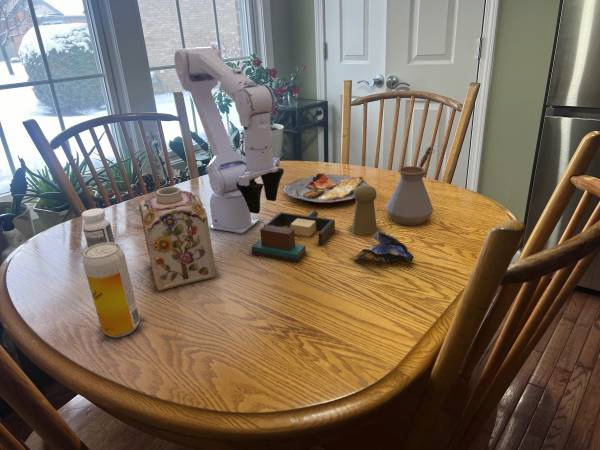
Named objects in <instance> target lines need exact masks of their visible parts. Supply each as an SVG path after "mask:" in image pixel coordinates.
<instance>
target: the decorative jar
mask: <svg viewBox="0 0 600 450" xmlns="http://www.w3.org/2000/svg"><path fill="white" fill-rule="evenodd" d="M155 193H156V194H154V195H151V196H150V197H147V198H145V199H144V200H142V201H141V202H139V206H138V207H139V208H138V209H139V213H140V219H141V224H142V229H143V233H144V238H145V245H146V248H147V253H148V257H149V263H150V266H151V271H152V274H153V278H154V281H155V286H156V289H157V290H158V291H164V290H168V289H172V288H176V287H179V286H184V285H188V284H192V283H197V282H200V281H204V280H208V279H213V278H216V277H217V276H216V266H215V265H216V264H215V258H214V250H213V245H212V239H211V232H210V226H209V219H208V216H207V212H206V208H205V207H204V206H203V205H204V204H203V202H202V200H201V197H200V195H199V194H198V193H196V192H192V191H187V190H182V189H181V188H180V187H178V186H165V187H162V188H159V189H157V190H156V192H155Z"/></svg>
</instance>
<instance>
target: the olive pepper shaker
mask: <svg viewBox="0 0 600 450" xmlns="http://www.w3.org/2000/svg"><path fill="white" fill-rule="evenodd" d="M353 199H354V200H355V207H354V212H353V219H352V226H351V232H352V233H353V234H355V235H357V236H363V237H367V236H374V234H375V233H376V232H378V225H377V217H376V207H375V200H376V199H377V190H376V188H375V187H373V186H371V185H369V186H359V187H357V188H356V189H355V191H354V198H353Z"/></svg>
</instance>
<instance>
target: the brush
mask: <svg viewBox="0 0 600 450" xmlns="http://www.w3.org/2000/svg"><path fill="white" fill-rule="evenodd" d="M259 231H260V239H259V240H258V241H256V242H255V243H254V244H253V245H251V254H252V255H253V256H258V257H262V258H263V257H264V258H269V259H274V260H280V261H285V262H290V263H295V264H297V263H299V262H300V260H301V259H302V258H303V257H304V256H306V254H307V250H306V245H305V244H300V243H299V244H298V243H296V234H295V231H294V229H291V228H288V227H283V226H279V227H276V226H270V225H265V226H264V225H263V227H261V228H260V229H259Z"/></svg>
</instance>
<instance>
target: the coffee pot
mask: <svg viewBox="0 0 600 450" xmlns="http://www.w3.org/2000/svg"><path fill="white" fill-rule="evenodd" d="M431 150H432V151H433V152H431ZM435 151H436V150H435V149H434V148H433V147H431V146H429V147H427V148H426V149H425V152H424V153H425V154H424V155H423V156H422V158H421V160H420V163H419V165H418V166H413V165H409V166H402V167H400V168H398V169H397V172H398V174H399V175H400V178H399V181H398V182H397V183H396V186H395V187H394V190H393V192H392V194H391V196H390V198H389V200H388V202H387V204H386V206H385V211H386V213H387V215H388V216H389V217H390V218H391V219H393V221H394V222H395V223H398V224H400V225H404V226H416V225H420V224H422V223H424V222H425V221H426V220H428V219H429V218H430V217H431V216H432V214H433V213H434V206H433V204H432V202H431V199H430V196H429V193H428V191H427V188H426V186H425V182H424V180H423V178H424V176H425V175H426V174H427V170H426V169H425V168H423V167H424V166H425V163H427V161H428V158H429V155H431V154H434V153H435Z"/></svg>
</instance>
